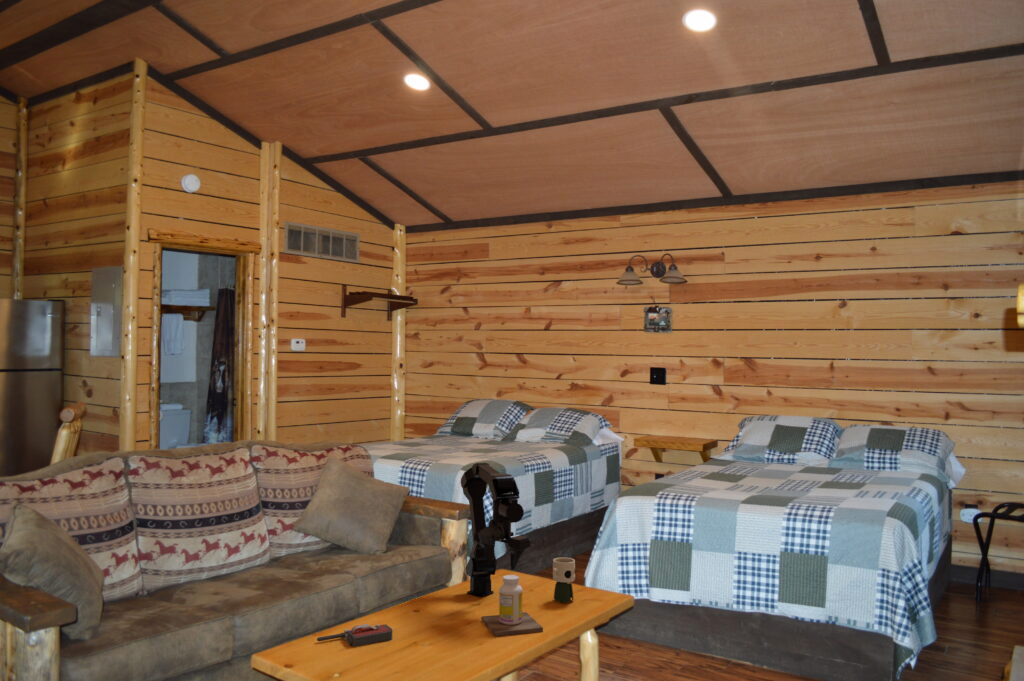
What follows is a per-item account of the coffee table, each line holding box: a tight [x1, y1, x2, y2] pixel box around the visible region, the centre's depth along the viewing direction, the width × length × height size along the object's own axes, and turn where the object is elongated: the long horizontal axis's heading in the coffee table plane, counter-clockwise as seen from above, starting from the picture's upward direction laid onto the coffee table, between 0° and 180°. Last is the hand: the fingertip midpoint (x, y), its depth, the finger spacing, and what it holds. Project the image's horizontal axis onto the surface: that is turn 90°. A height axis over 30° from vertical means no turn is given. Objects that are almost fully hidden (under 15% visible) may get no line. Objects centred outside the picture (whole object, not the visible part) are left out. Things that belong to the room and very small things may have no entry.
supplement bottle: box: [498, 574, 523, 625], centre depth 230 cm, size 7×7×13 cm
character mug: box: [552, 556, 576, 603], centre depth 254 cm, size 11×7×13 cm, turn 140°
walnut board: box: [480, 611, 544, 638], centre depth 229 cm, size 14×14×1 cm
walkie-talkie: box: [316, 623, 393, 648], centre depth 217 cm, size 9×4×20 cm
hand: (501, 567), depth 244 cm, fingers open, 9 cm apart
